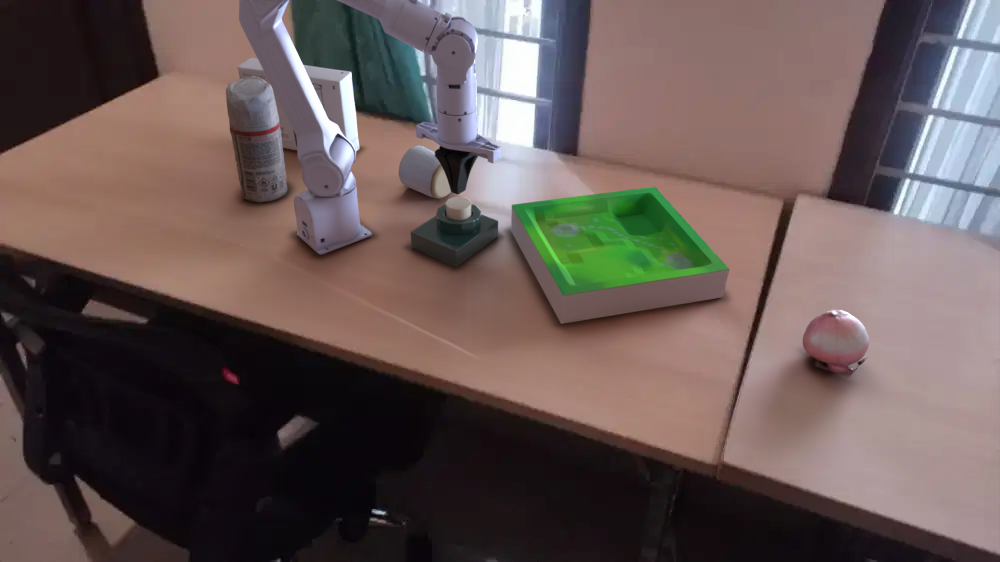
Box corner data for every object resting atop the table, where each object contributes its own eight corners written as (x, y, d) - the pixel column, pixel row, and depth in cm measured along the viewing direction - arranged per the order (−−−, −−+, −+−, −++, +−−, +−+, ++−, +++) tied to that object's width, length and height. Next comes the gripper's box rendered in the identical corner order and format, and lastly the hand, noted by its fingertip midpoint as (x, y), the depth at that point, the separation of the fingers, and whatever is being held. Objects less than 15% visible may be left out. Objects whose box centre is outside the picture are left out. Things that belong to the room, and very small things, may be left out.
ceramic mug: (433, 207, 132) (432, 166, 128) (398, 192, 136) (396, 152, 132) (472, 185, 139) (472, 146, 135) (438, 171, 143) (437, 133, 139)
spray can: (297, 182, 139) (280, 74, 127) (281, 205, 132) (263, 93, 121) (251, 179, 139) (230, 72, 128) (234, 202, 133) (210, 91, 121)
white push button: (460, 224, 119) (460, 212, 118) (440, 216, 121) (440, 204, 120) (476, 213, 122) (476, 201, 121) (456, 205, 124) (456, 194, 123)
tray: (561, 323, 107) (563, 295, 104) (511, 231, 126) (511, 204, 124) (723, 297, 113) (729, 269, 110) (651, 212, 132) (655, 186, 129)
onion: (847, 341, 105) (863, 299, 101) (871, 380, 99) (889, 337, 94) (789, 342, 105) (802, 299, 100) (810, 381, 98) (825, 338, 94)
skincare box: (250, 145, 151) (235, 65, 142) (265, 133, 155) (251, 56, 146) (348, 160, 146) (339, 79, 137) (361, 148, 150) (353, 69, 141)
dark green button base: (456, 267, 118) (455, 239, 115) (411, 247, 122) (409, 220, 119) (498, 236, 125) (498, 209, 122) (454, 219, 129) (454, 192, 126)
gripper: (513, 111, 110) (511, 194, 118) (435, 87, 117) (438, 168, 125) (484, 127, 106) (484, 213, 114) (404, 102, 113) (409, 184, 120)
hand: (458, 190), depth 119 cm, fingers closed
